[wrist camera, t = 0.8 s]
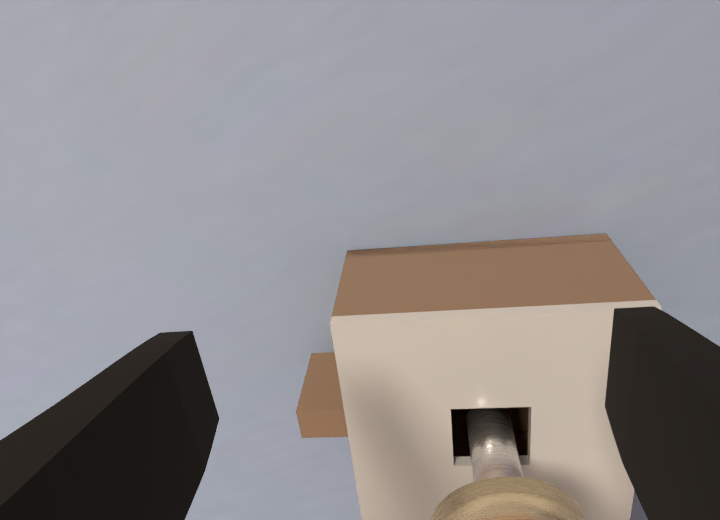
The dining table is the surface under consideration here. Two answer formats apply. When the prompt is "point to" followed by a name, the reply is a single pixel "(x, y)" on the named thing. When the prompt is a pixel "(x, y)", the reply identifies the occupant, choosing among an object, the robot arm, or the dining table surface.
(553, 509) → the plunger
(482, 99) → the dining table surface
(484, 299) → the tan box
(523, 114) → the dining table surface
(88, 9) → the dining table surface
